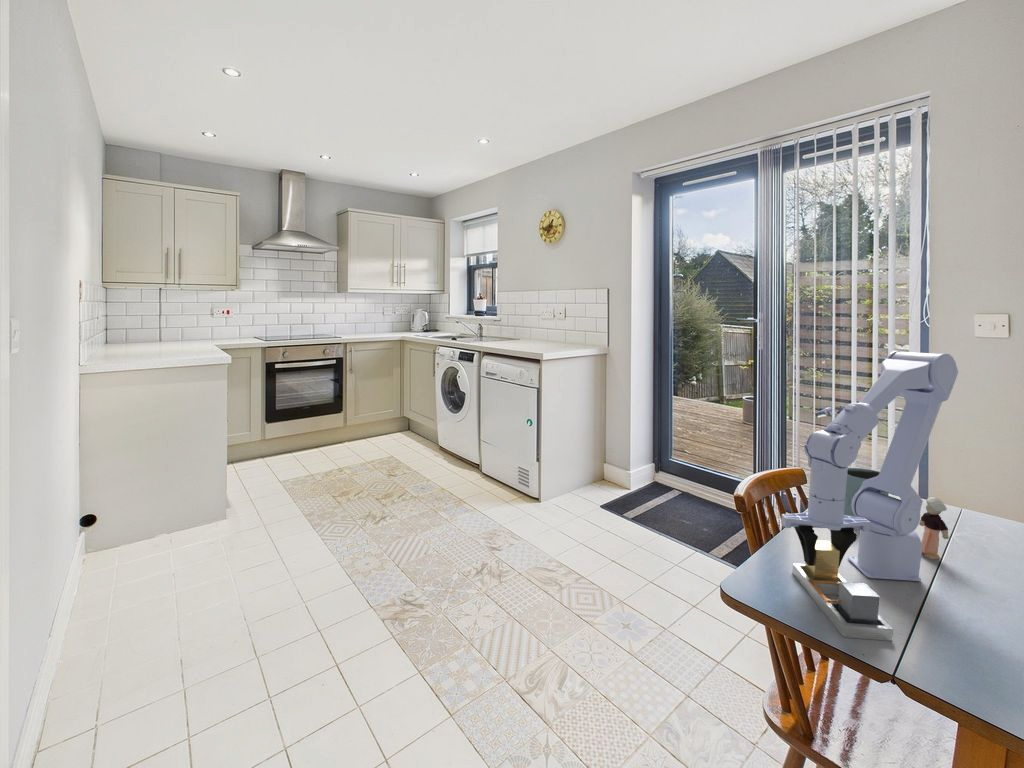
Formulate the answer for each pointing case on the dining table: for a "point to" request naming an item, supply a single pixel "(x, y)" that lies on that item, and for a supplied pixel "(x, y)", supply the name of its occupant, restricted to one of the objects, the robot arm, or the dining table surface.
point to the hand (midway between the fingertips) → (821, 563)
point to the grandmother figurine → (933, 527)
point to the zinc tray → (830, 607)
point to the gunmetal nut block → (858, 603)
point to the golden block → (824, 562)
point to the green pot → (856, 485)
